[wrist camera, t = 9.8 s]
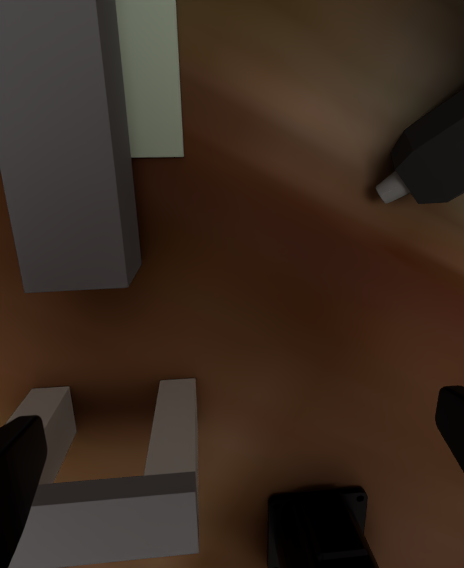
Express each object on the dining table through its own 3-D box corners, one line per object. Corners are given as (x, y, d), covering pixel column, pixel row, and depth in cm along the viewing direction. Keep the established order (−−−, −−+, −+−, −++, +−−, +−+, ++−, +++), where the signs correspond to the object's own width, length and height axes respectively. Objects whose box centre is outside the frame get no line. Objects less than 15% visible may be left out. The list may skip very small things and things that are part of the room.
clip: (197, 422, 22) (198, 553, 15) (40, 434, 22) (-44, 577, 14) (195, 378, 21) (195, 491, 14) (31, 388, 21) (-64, 515, 13)
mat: (183, 156, 18) (183, 156, 18) (-13, 160, 17) (-18, 159, 17) (170, -105, 15) (169, -112, 15) (-67, -115, 14) (-74, -123, 14)
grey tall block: (141, 264, 19) (128, 287, 15) (59, 268, 19) (24, 293, 15) (103, -118, 15) (70, -221, 11) (-5, -122, 14) (-78, -229, 10)
